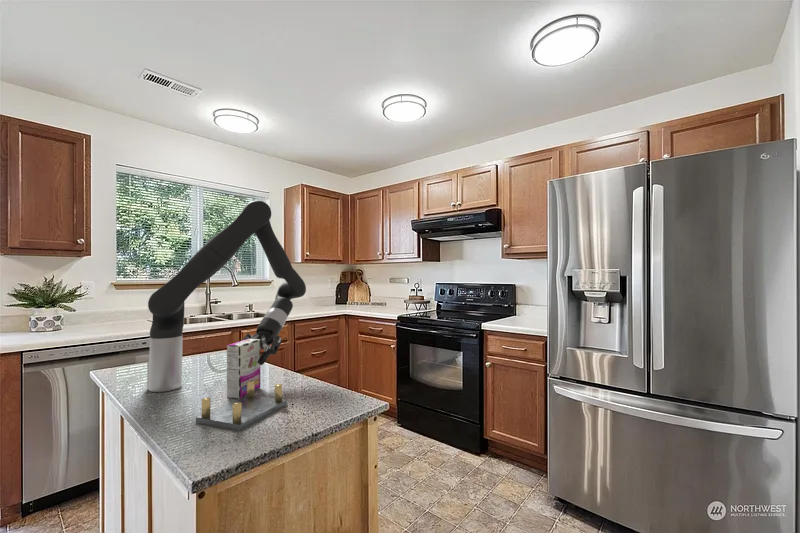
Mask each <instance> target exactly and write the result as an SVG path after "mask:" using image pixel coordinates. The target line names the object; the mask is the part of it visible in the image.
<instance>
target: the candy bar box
mask: <svg viewBox="0 0 800 533" xmlns="http://www.w3.org/2000/svg"><path fill="white" fill-rule="evenodd" d="M242 340H243V339H242ZM242 340H240V341H237V342H234V343H230V344H227V345H226V398H229V399H240V398H242V397H244V396H246V395H247V382H248V381H254V392H255V391H257V390H259V389H260V388H261V365H260V364H259V363H258V360H259V358H260V356H261V348H260V339H246V340H243V341H242Z"/></svg>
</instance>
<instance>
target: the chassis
mask: <svg viewBox="0 0 800 533" xmlns="http://www.w3.org/2000/svg"><path fill="white" fill-rule="evenodd" d="M286 406H288V400H287V399H283V384H282V383H277V384H275V385H274V397H267V396H260V395H255V391H254V381H248V382H247V395H246V396H244V397H242V398H236V399H235V400H233V401H231V402H227V403H226V404H223V405H221V406H219V407H217V408H214V409H212V410H211V397H204V398H203V397H202V399H201V414H200V415H198V416H196V417H195V424H198V425H204V426H210V427H215V428H219V429H220V428H221V429H225V430H230V431H231V430H232V431H238V432H240V431H242V430H244V429H246V428H248V427H250V426H252V425H254V424H256V423H257V422H259V421H261V420H263V419H264V418H266V417H268V416H270V415H273V413H276V412H277V411H280V410H281V409H283V408H284V407H286Z"/></svg>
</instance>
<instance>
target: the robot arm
mask: <svg viewBox="0 0 800 533" xmlns="http://www.w3.org/2000/svg"><path fill="white" fill-rule="evenodd" d="M240 212H241V213H239V215H237V217H236V218H235V220H234V221H232V223H231V224H229V225H228V226H227V227H226V228H224V229H222V230H221V231H220V232H218V233H217V234H216V235H214V236H213V237H212V238H211V239H210V240H208V241H207V242H206V243H205V244H204V245H203V246H202V247H200V248H199V250H198V251H197V252H196V253H195V254H194V255H193V256H192V257H191V258H190V259H189V260H188V261H187V263H185V265H184V266H183V267H181V268H182V269H180V270H179V272H178V273H176V275H175V276H173V277H172V278H171V279H170V280H169V281H167V282H166V283H165V284H163V285H162V286H161V287H159V288H158V289H157V290H156V291H154V292H152V294H151V295H150V297H149V298H148V301H147V307H148V310H149V312H150V313H151V314H152V323H151V327H150V329H149V357H148V358H149V359H147V372H146V373H147V374H146V388H147V389H146V390H148V391H149V392H151V393H152V392H153V393H162V392H169V391H170V392H171V391H174V390H177V389H179V388H181V387H182V385H183V382H182V381H183V378H182V377H183V334H184V333H183V331H184V330H183V329H184V324H185V302H186V300H187V299H188V297H190V295H191V294H192V293H193V292H194V291H195V290H197V288H198V287H199V286H201V285H202V284H203V283H205V282H207V281H208V280H209V279H211V278H212V277H213V276H214V275H215V274H217V273H218V272H219V271H220V270H221V269H222V268H223V267H225V265H226V264H228V262H229V261H230V260H231V259H232V258H233V257H234V256H235V254H237V252H238V251H239V250H240V249H241V247H243V245H244V243H245V242H246V241H247V240H248V239H249V238H250V237H251V236H252V235H253V234H254V235H255V236H256V238H257V240H258V241H259V243H260V246H261V248H262V249H263V252H264V254H265V256H266V258H267V261H268V263H269V265H270V267H271V270H272V272H273V273H274V276H276V278H277V279H282V280H284V281H285V282H283V283H281V285H279V286H278V289H277V291H276V295H275V298H274V301H273V303H272V305H271V306H270V307H269V309H268V310H267V311H266V313H265V315H264V316H263V317H262V319H261V321H260V323H259V324H258V325H257V327H256V332H255V334H253V335H251V334H250V333H246V335H245V336H244V337H243V338H242V340H241V341H243V340H246V339H260V350H263V352H262V353H260V358H259V360H258V363H259V364H260V366H263V365H264V364H265V363H266V361H267V360H268V357H269V356H271V355H273V356H274V355H276V354H277V352H278V350H279V348H280V347H281V344H282V341H283V340H282V338H281V337H280V336H279V334H280V332H282V331H281V330H282V329H283V327H284V325H285V324H286V322H287V319H288V317H289V315H290V313H291V312H292V310H293V307H294V303H293V301H291V300H294V299H298V298H302V297H303V296H305V295H306V292H307V287H306V284H305V282H304V279H303V278H302V277H301V275H300V274H298V272H297V271H296V270H295V269H294V267H293V266H292V265H293V264H292V263H291V261H290V259H289V257H288V255H287V253H286V251H285V250H284V248H283V246H282V245H281V243H280V241H279V240H278V237H277V235H276V234H275V232H274V231H273V227H272V224H271V217H272V209H271V207H270V205H269V204H268V203H266V202H265V201H263V200H252V201H250V202H248V203H247V204H246V205H245V206H244V207H243V210H242V211H240Z"/></svg>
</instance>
